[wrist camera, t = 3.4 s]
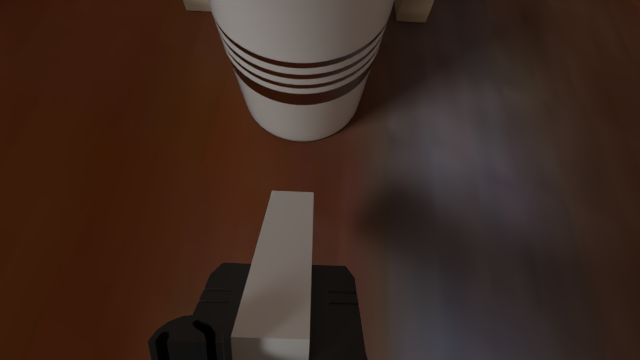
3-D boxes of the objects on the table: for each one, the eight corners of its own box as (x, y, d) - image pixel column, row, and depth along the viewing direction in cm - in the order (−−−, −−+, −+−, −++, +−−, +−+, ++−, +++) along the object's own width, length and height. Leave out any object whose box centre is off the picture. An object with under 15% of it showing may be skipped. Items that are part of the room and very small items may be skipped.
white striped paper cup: (193, 106, 21) (61, -144, 10) (271, 14, 24) (240, -261, 12) (341, 186, 19) (392, 1, 8) (405, 77, 22) (508, -171, 11)
